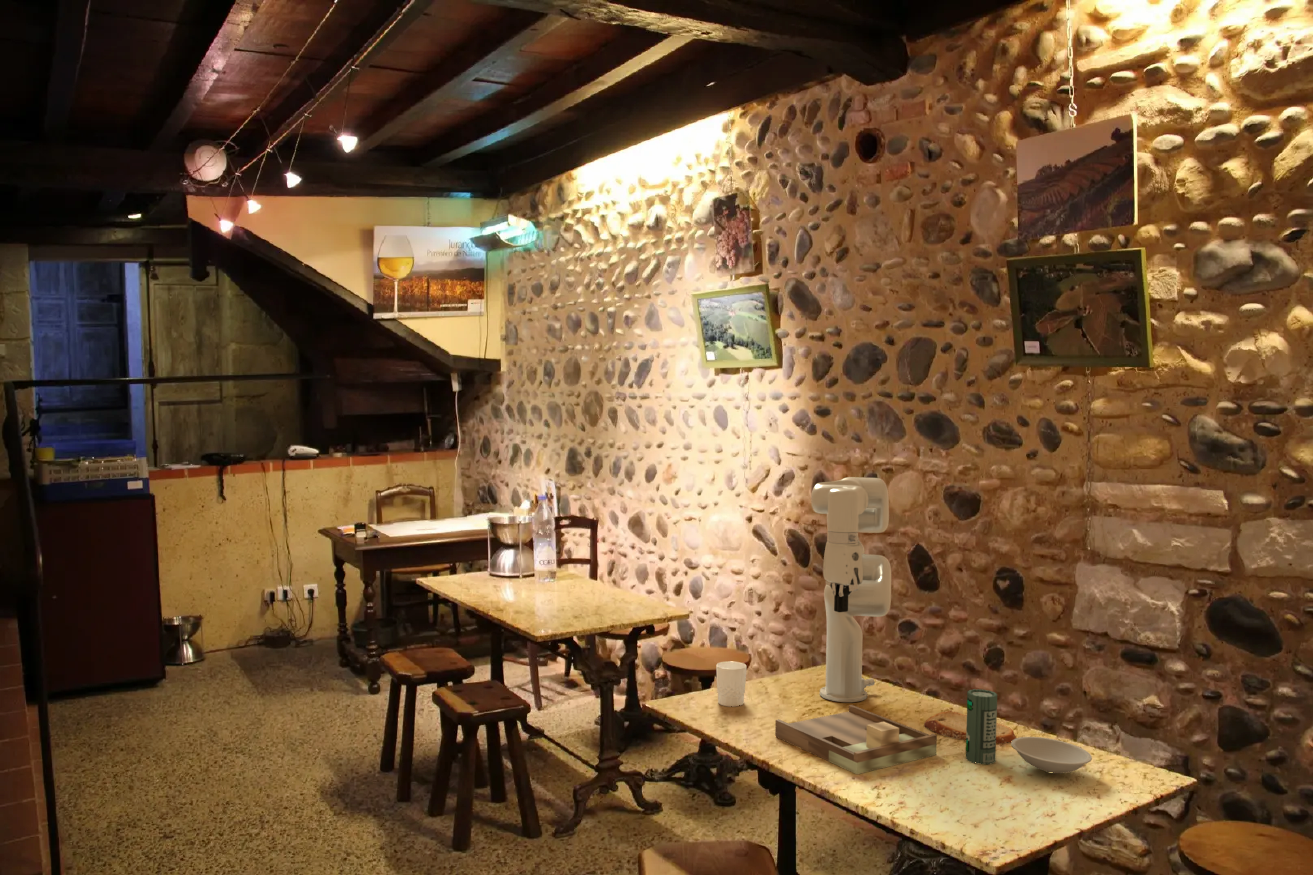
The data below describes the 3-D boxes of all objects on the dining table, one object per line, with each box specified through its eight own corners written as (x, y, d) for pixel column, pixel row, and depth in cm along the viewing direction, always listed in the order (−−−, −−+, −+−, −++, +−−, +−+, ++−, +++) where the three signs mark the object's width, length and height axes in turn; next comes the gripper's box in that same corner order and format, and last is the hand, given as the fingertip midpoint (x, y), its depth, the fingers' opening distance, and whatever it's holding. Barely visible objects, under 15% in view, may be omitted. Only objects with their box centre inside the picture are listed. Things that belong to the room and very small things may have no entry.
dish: (994, 764, 231) (995, 742, 231) (1039, 754, 238) (1040, 732, 238) (1061, 792, 215) (1061, 768, 215) (1107, 779, 223) (1107, 756, 222)
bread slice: (1022, 743, 246) (1023, 727, 246) (952, 748, 242) (952, 732, 242) (983, 719, 264) (984, 704, 264) (917, 723, 260) (917, 708, 260)
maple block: (883, 743, 236) (884, 721, 236) (898, 750, 232) (899, 728, 232) (866, 746, 234) (866, 724, 234) (881, 753, 230) (881, 731, 229)
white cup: (710, 700, 276) (710, 663, 276) (736, 697, 279) (737, 660, 279) (724, 708, 269) (725, 670, 268) (751, 705, 272) (752, 667, 272)
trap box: (851, 720, 260) (851, 702, 260) (936, 754, 237) (936, 735, 236) (775, 736, 248) (775, 717, 248) (856, 774, 224) (857, 753, 224)
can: (979, 752, 238) (980, 687, 238) (1000, 761, 233) (1002, 694, 232) (960, 757, 235) (962, 691, 234) (981, 765, 230) (983, 698, 229)
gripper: (874, 541, 256) (873, 615, 256) (833, 533, 268) (832, 604, 269) (851, 543, 252) (850, 618, 253) (811, 535, 264) (809, 607, 265)
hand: (841, 611), depth 261 cm, fingers closed
